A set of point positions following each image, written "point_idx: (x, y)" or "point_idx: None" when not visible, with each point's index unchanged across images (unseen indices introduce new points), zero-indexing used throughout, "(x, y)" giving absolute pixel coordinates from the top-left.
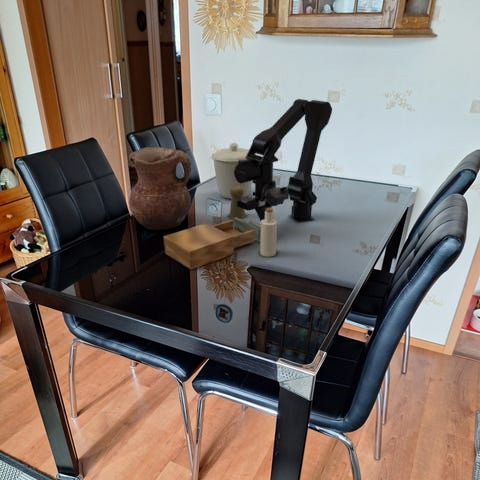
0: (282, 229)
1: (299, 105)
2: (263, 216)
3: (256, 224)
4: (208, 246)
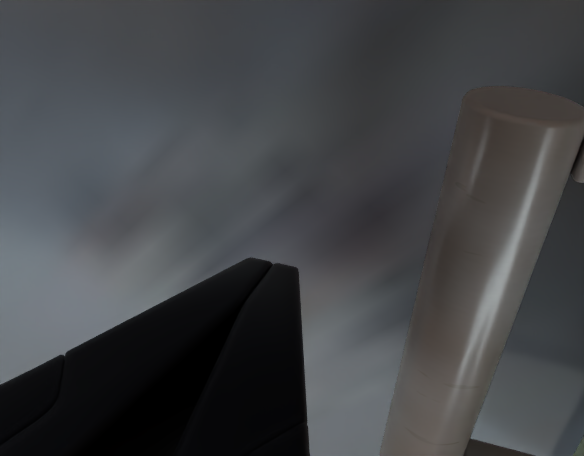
0: (32, 18)
1: None
2: (262, 375)
3: (502, 327)
4: None
